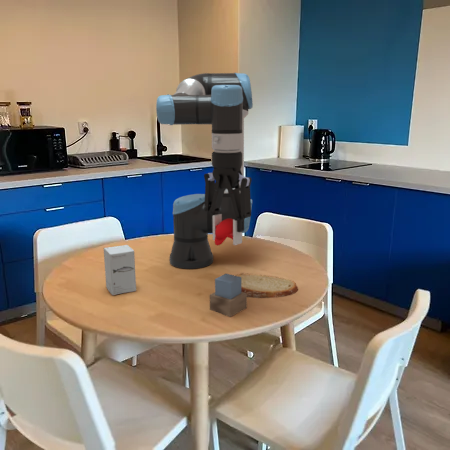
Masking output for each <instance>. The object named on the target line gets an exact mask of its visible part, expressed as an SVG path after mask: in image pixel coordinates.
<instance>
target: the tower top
mask: <svg viewBox="0 0 450 450" xmlns="http://www.w3.org/2000/svg"><path fill="white" fill-rule="evenodd" d="M214 292H215V295H217V296H220V297H224V298H227V299H232V298H234V297H236V296H237V295H239V294H241V277H238V276H235V275H234V274H231V273H230V274H229V273H224V274H221V275H220V276H219V277H216V278H215V279H214Z"/></svg>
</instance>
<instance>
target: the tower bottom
mask: <svg viewBox="0 0 450 450" xmlns="http://www.w3.org/2000/svg"><path fill="white" fill-rule="evenodd" d="M247 299H248V297H247V293H245V292H241V294H239V295H237V296H236V297H234V298H232V299H227V298H224V297H220V296H217V295H215V291H214V292H212V293H210V294H209V310H210V311H213V312H215V313H217V314H221V315H223V316H226V317H229V318H231V317H233V316H235V315H236V314H238V313H240V312H242V311H244V310H246V309H247V305H248V303H247Z"/></svg>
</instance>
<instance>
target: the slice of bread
mask: <svg viewBox="0 0 450 450" xmlns="http://www.w3.org/2000/svg"><path fill="white" fill-rule="evenodd" d="M234 276H238V277H241V292H245V293H247V298H258V299H264V298H267V299H269V298H271V299H272V298H282V297H287V296H292V295H293V294H296V293H297V292H298V291H299V287H298V286H297V284H296V282H295V281H294V280H292V279H290V278H284V277H279V276H273V275H265V274H264V275H262V274H253V273H244V272H241V273H237V274H236V275H234Z"/></svg>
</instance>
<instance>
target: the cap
mask: <svg viewBox="0 0 450 450" xmlns="http://www.w3.org/2000/svg"><path fill="white" fill-rule="evenodd" d="M233 220H234V219H230V218H229V219H225V220H223V221H222V222H220V223H219V225H216V231H215V240H214V245H215V246H220V245H222V244H223V243H224V242H225V241H226V239H227V238H228V239H231V240H232V241H233Z"/></svg>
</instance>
